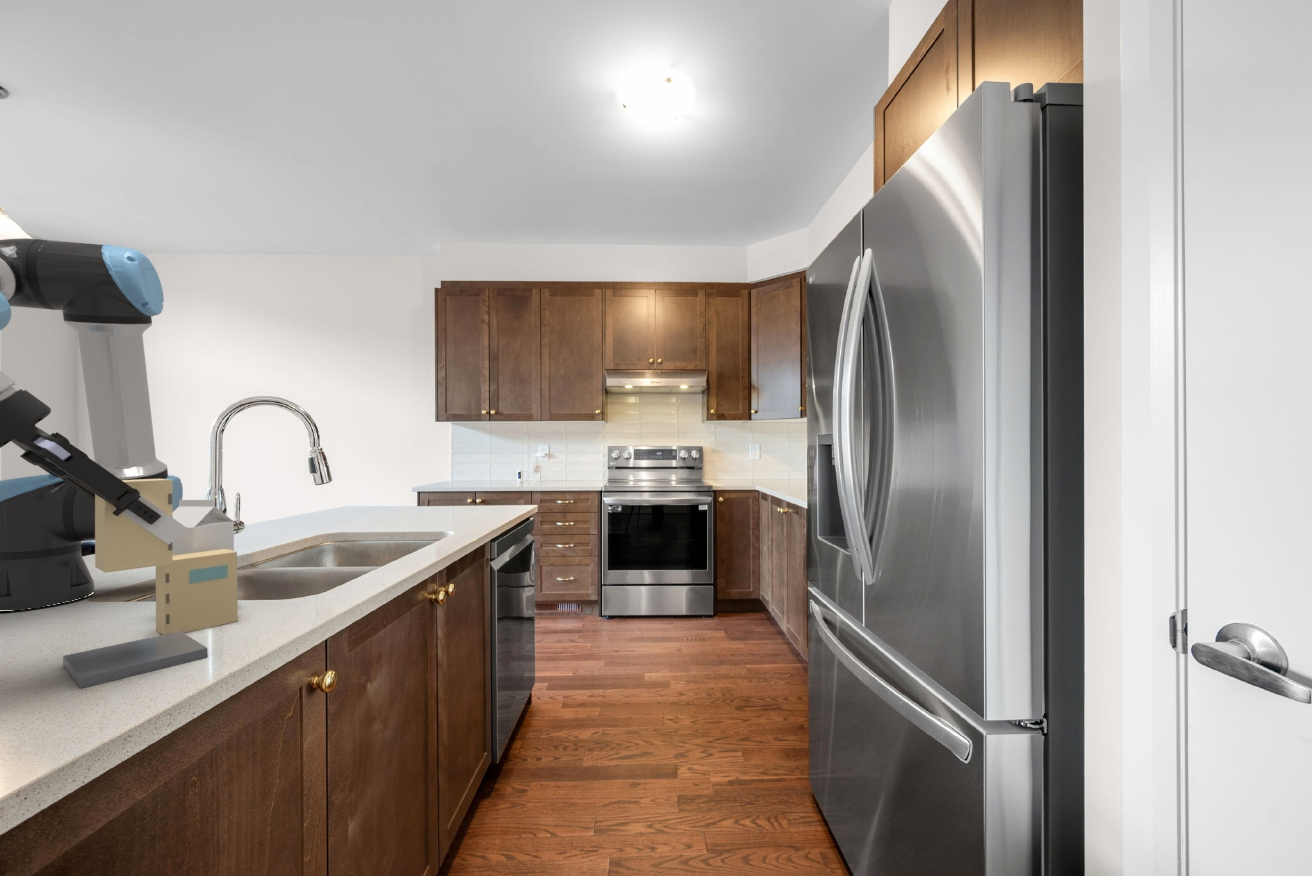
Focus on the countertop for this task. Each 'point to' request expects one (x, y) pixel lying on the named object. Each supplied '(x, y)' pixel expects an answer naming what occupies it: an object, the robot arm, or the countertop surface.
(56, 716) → the countertop surface
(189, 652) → the plate
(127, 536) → the tan rectangular block
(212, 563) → the cardboard shipping box
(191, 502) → the milk carton
